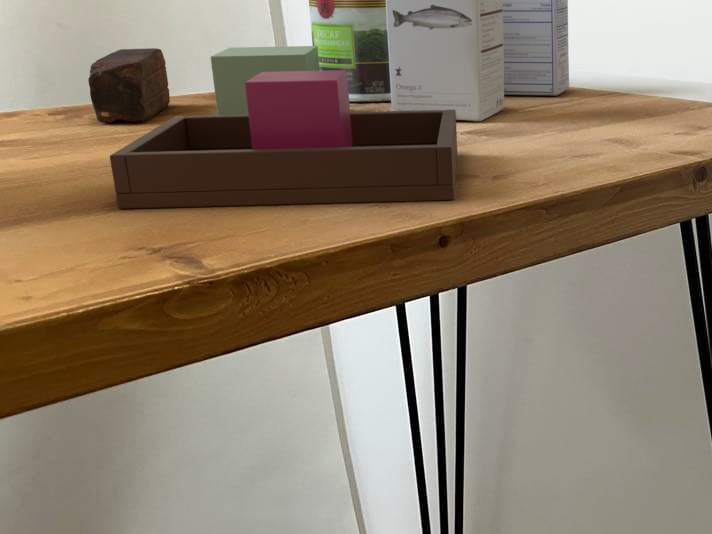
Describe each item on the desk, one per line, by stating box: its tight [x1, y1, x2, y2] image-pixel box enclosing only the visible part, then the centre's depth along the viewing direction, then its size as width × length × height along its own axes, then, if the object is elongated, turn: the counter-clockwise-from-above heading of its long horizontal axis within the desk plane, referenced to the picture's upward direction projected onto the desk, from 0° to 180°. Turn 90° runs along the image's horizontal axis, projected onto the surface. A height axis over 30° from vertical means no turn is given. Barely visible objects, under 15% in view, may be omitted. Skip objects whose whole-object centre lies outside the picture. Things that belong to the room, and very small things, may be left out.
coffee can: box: [308, 0, 391, 103], centre depth 96 cm, size 10×10×14 cm
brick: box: [87, 48, 171, 124], centre depth 89 cm, size 11×4×5 cm, turn 7°
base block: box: [210, 45, 320, 115], centre depth 87 cm, size 7×7×5 cm
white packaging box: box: [386, 0, 505, 122], centre depth 85 cm, size 7×7×13 cm
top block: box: [245, 70, 353, 149], centre depth 64 cm, size 5×5×5 cm
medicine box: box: [503, 0, 570, 97], centre depth 97 cm, size 8×4×9 cm, turn 74°
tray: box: [109, 110, 458, 210], centre depth 64 cm, size 18×14×3 cm
